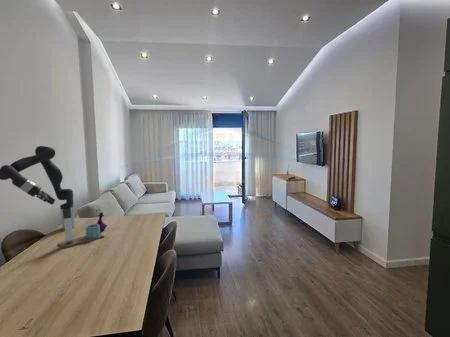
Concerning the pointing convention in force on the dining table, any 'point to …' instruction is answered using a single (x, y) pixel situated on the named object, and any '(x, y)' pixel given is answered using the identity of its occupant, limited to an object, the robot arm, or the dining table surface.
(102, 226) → the perfume bottle
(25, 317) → the dining table surface
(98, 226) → the crock
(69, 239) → the grey long forked bar
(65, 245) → the walnut board
